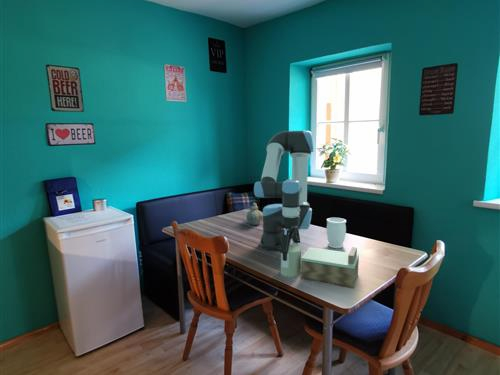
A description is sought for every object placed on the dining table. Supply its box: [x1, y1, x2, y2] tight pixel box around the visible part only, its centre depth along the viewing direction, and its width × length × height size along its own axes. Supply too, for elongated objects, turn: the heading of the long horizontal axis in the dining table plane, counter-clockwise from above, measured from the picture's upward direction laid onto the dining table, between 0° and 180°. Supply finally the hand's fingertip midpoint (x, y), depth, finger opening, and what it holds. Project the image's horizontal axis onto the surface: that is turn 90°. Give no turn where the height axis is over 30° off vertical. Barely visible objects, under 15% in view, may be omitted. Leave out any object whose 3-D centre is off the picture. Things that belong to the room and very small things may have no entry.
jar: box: [326, 217, 347, 249], centre depth 174 cm, size 11×10×15 cm
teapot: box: [246, 202, 263, 226], centre depth 219 cm, size 21×12×15 cm, turn 179°
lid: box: [301, 246, 360, 269], centre depth 137 cm, size 22×14×5 cm, turn 64°
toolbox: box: [300, 256, 360, 289], centre depth 138 cm, size 22×14×8 cm, turn 64°
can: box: [280, 244, 302, 278], centre depth 142 cm, size 9×9×12 cm
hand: (290, 261), depth 142 cm, fingers open, 13 cm apart
